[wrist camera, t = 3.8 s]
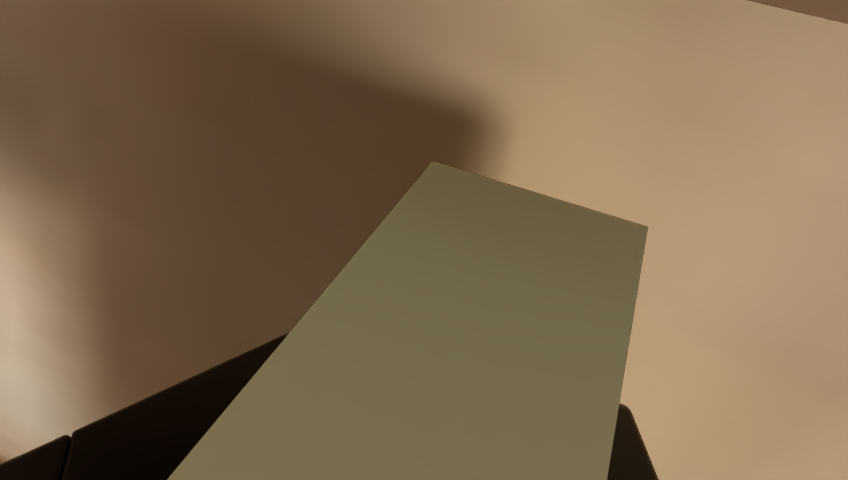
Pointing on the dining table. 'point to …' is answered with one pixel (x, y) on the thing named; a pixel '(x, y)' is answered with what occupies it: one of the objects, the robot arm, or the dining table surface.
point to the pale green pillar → (448, 349)
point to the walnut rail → (814, 7)
